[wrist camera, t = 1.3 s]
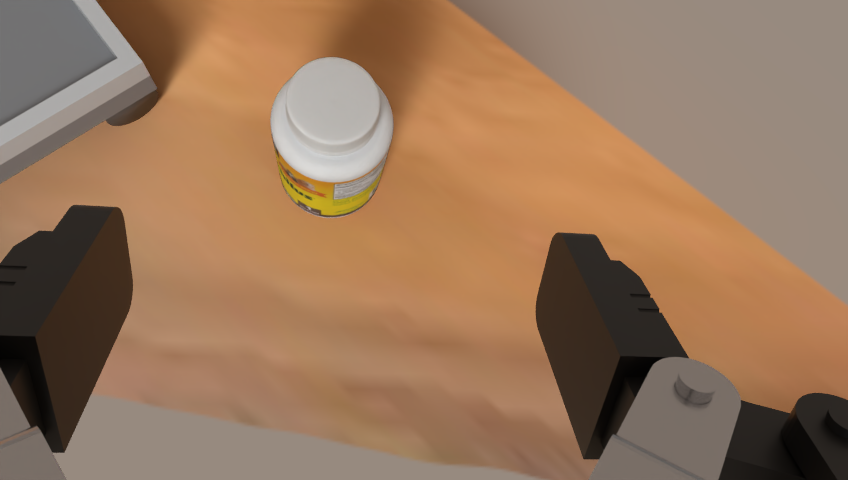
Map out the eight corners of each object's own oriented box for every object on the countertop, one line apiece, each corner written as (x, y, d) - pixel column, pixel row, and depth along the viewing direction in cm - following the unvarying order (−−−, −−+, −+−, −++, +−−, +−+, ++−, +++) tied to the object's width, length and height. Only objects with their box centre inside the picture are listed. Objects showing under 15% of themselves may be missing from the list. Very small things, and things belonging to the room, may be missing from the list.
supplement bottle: (264, 147, 38) (244, 62, 28) (355, 113, 39) (367, 20, 29) (303, 237, 37) (297, 182, 27) (395, 199, 38) (421, 134, 28)
